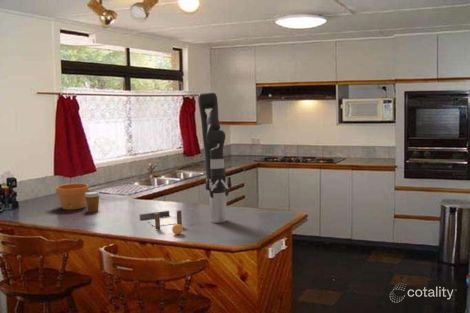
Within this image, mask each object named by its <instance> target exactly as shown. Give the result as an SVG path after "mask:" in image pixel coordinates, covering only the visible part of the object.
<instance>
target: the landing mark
mask: <svg viewBox="0 0 470 313" xmlns="http://www.w3.org/2000/svg"><path fill="white" fill-rule="evenodd" d="M163 219H164V220H163V221H164V222H163V221H162V222H163V223H164V225H163V223H162V225H163V226H169V224H171V225H175V224H176V223H177V221H174V220H173V219H171V218H170V217H169V218H163Z"/></svg>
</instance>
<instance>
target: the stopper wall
mask: <svg viewBox="0 0 470 313" xmlns="http://www.w3.org/2000/svg"><path fill="white" fill-rule="evenodd" d="M155 213H159V215H160V218H163V217H162V216H166V217H170V211H169V210H163V211H154V212H145V213H139V220H140V219H142V220H147V219H146V218H150V219H153V218H152V217H155Z"/></svg>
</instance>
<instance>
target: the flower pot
mask: <svg viewBox="0 0 470 313" xmlns="http://www.w3.org/2000/svg"><path fill="white" fill-rule="evenodd" d="M89 188H90V187H89V184H87V183H67V184H66V183H65V184H61V185H60V184H59V185H57V186H56V187H55V190H56V191H55V192H56V194H57V195H58V199H59V202H60V205H61V208H62V209H63V210H71V211H72V210H78V209H82V208H84V207H85V206H86V197H85V193H86V192H89Z"/></svg>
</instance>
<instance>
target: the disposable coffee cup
mask: <svg viewBox="0 0 470 313" xmlns="http://www.w3.org/2000/svg"><path fill="white" fill-rule="evenodd" d="M85 197H86V201H85V203H86V207H87V211H88V212H89V213H90V212H91V213H92V212H98V211H99V202H100V201H99V200H100V191H96V190H95V191H88V192H86V193H85Z"/></svg>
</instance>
